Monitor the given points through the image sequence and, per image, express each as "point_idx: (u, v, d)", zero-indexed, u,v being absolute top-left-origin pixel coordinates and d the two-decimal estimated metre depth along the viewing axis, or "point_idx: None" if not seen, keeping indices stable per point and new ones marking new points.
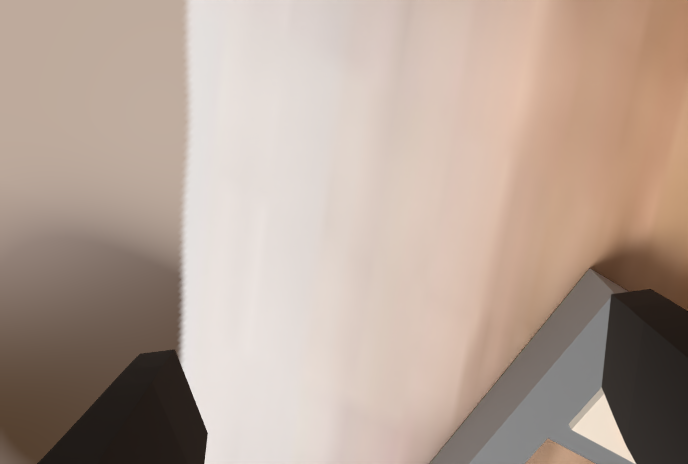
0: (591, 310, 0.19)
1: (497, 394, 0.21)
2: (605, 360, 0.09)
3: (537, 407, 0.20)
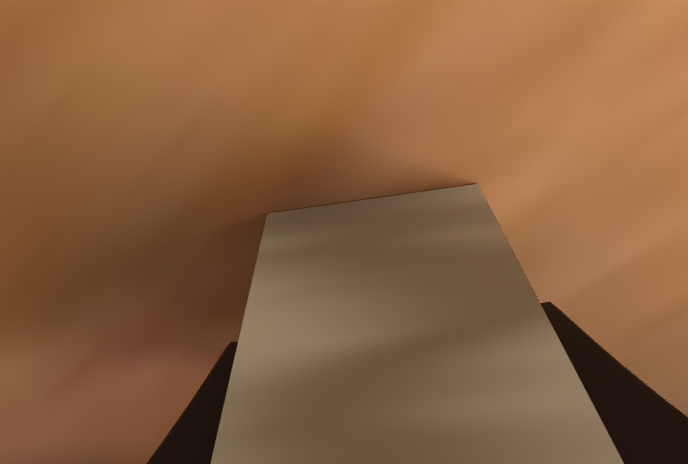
0: None
1: None
2: None
3: None
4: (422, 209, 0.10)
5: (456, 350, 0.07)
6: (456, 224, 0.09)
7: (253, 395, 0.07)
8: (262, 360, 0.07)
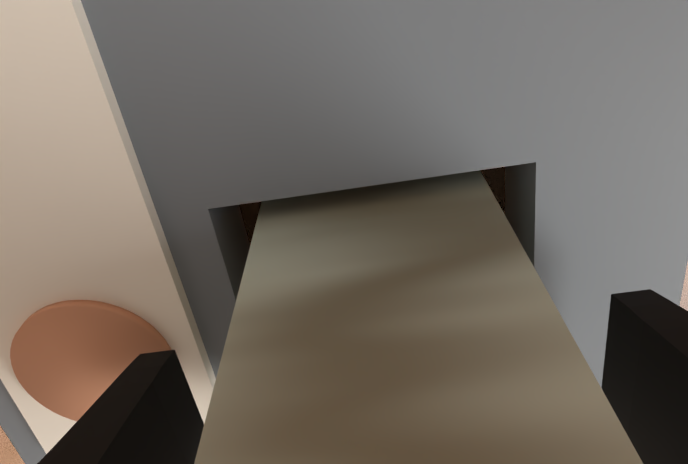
0: None
1: None
2: (605, 360, 0.09)
3: None
4: None
5: (440, 276, 0.07)
6: (444, 179, 0.10)
7: (256, 316, 0.07)
8: (264, 289, 0.08)
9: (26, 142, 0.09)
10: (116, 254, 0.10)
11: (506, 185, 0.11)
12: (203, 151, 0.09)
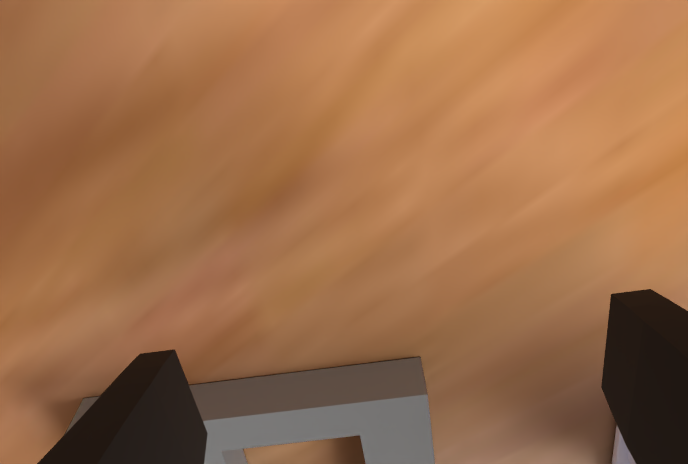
0: None
1: None
2: (605, 360, 0.09)
3: None
4: None
5: None
6: None
7: None
8: None
9: None
10: None
11: None
12: None
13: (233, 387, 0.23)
